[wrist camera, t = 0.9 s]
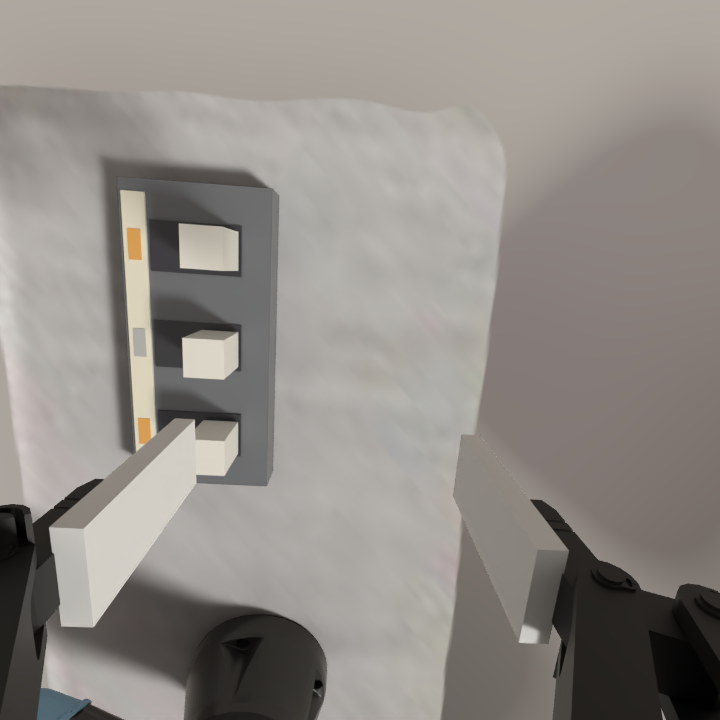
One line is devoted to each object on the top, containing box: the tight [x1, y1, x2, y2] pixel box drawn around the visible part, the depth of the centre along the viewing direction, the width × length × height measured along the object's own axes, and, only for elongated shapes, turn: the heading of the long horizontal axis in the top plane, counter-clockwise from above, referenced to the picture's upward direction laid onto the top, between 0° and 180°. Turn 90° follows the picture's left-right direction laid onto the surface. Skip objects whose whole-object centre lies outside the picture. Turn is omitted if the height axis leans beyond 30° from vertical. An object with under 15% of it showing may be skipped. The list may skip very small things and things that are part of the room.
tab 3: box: [195, 420, 238, 476], centre depth 33 cm, size 3×3×4 cm
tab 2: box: [182, 330, 238, 380], centre depth 31 cm, size 3×3×4 cm
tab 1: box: [179, 223, 238, 271], centre depth 30 cm, size 3×3×4 cm
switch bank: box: [117, 176, 279, 486], centre depth 35 cm, size 26×12×3 cm, turn 176°
